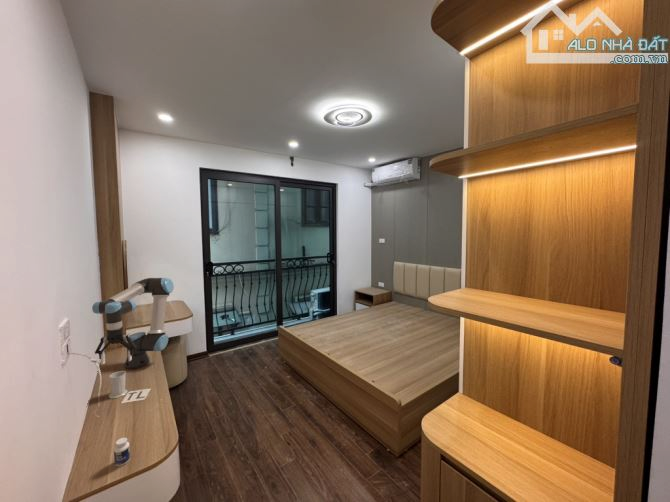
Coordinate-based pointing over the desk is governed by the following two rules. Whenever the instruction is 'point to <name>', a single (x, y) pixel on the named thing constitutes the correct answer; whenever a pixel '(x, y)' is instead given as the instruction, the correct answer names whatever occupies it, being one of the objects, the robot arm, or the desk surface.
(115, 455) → the pill bottle
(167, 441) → the desk surface
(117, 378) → the cup
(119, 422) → the desk surface
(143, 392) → the tile
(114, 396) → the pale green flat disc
